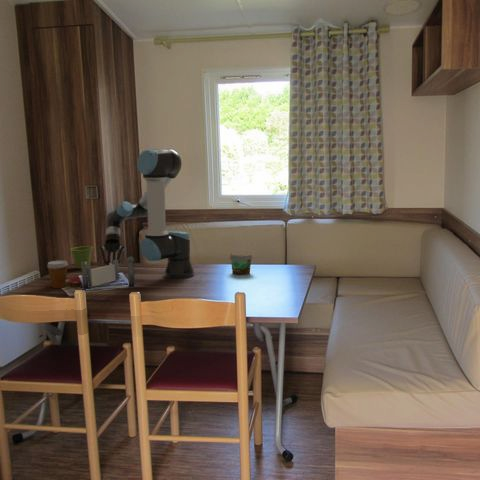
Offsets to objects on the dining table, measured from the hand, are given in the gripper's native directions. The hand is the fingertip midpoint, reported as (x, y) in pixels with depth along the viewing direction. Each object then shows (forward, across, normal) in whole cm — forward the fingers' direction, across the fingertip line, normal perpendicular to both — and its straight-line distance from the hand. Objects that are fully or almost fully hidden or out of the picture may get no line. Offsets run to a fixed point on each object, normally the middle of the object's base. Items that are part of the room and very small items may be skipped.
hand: (110, 275), depth 261 cm
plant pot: (-21, +20, -26) cm, 39 cm away
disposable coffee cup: (+7, +24, +2) cm, 25 cm away
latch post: (+12, -12, +8) cm, 18 cm away
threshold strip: (+12, -1, +8) cm, 14 cm away
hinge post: (+12, +10, +8) cm, 17 cm away
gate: (+6, +2, +3) cm, 7 cm away
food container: (0, -65, -5) cm, 65 cm away
